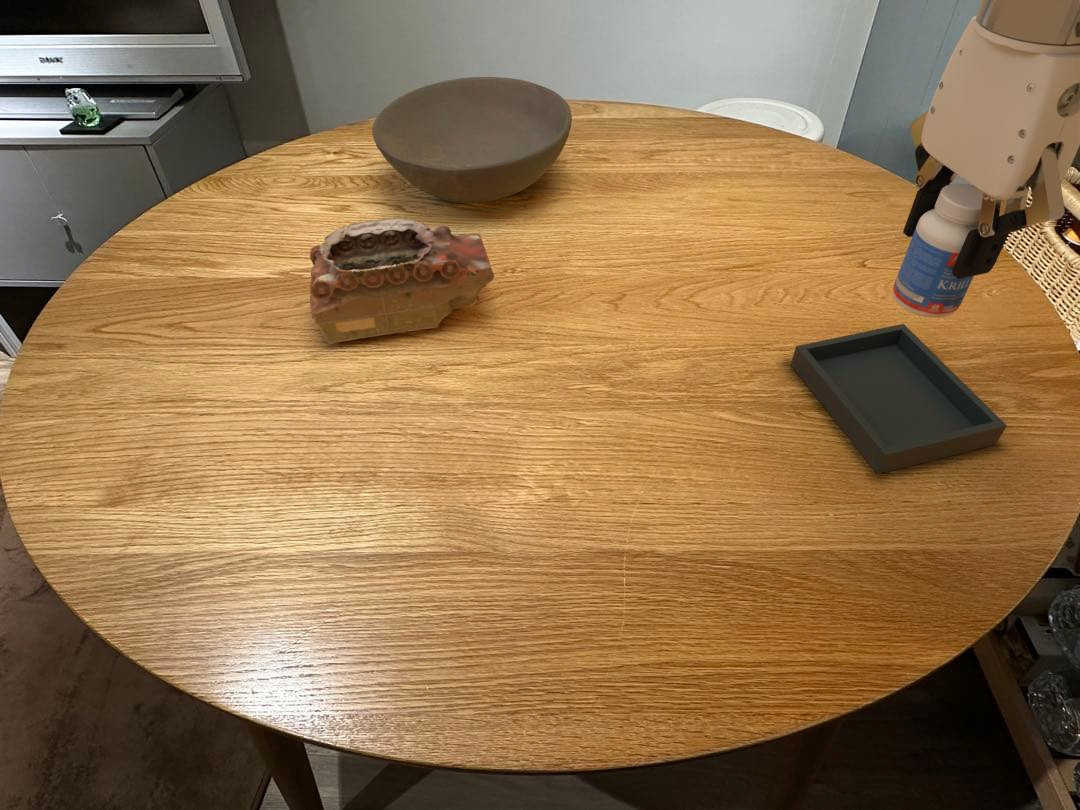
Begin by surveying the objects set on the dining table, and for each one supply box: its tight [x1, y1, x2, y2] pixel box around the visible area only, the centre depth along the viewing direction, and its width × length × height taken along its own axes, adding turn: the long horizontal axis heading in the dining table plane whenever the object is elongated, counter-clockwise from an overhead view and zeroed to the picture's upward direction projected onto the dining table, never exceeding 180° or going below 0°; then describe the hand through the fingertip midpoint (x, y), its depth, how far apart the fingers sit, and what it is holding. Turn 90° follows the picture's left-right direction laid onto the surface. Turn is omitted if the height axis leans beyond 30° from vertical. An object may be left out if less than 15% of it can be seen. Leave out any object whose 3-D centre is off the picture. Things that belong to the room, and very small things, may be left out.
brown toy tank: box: [309, 217, 495, 345], centre depth 84 cm, size 13×20×10 cm, turn 96°
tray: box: [790, 323, 1008, 475], centre depth 75 cm, size 16×13×3 cm
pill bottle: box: [891, 182, 983, 319], centre depth 62 cm, size 6×5×10 cm
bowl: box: [371, 76, 573, 205], centre depth 105 cm, size 26×26×10 cm
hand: (945, 250), depth 62 cm, fingers closed on pill bottle, 5 cm apart
